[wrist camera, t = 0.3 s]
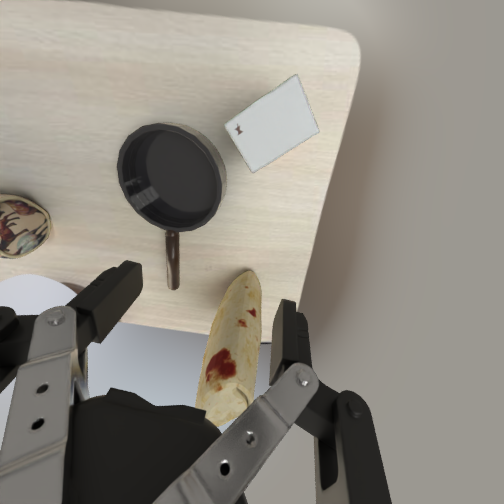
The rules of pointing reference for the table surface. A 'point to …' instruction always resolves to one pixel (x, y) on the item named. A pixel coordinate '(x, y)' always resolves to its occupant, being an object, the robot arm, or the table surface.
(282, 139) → the cosmetic box
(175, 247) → the pan handle
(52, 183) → the table surface
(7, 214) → the pencil case
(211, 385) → the food model
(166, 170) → the frying pan
